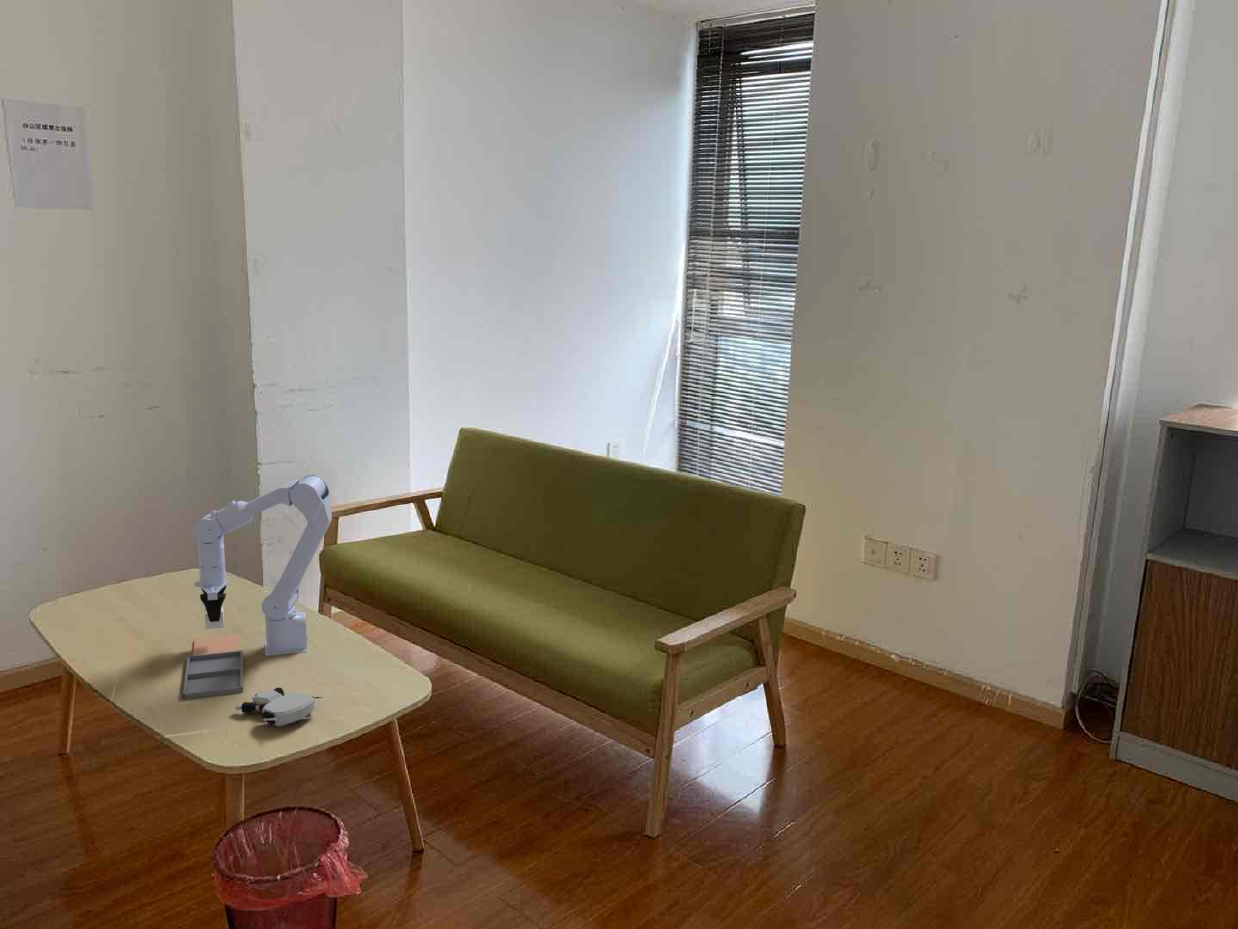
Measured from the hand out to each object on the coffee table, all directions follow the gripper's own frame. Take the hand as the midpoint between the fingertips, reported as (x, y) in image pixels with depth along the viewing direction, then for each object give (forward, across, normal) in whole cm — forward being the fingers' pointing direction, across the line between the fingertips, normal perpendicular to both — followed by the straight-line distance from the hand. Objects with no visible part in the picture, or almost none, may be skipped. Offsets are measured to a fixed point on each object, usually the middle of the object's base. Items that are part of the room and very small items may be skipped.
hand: (214, 617), depth 229 cm
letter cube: (+2, 0, 0) cm, 2 cm away
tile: (+8, 0, 0) cm, 8 cm away
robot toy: (+8, +39, +13) cm, 42 cm away
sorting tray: (+8, +17, 0) cm, 19 cm away
